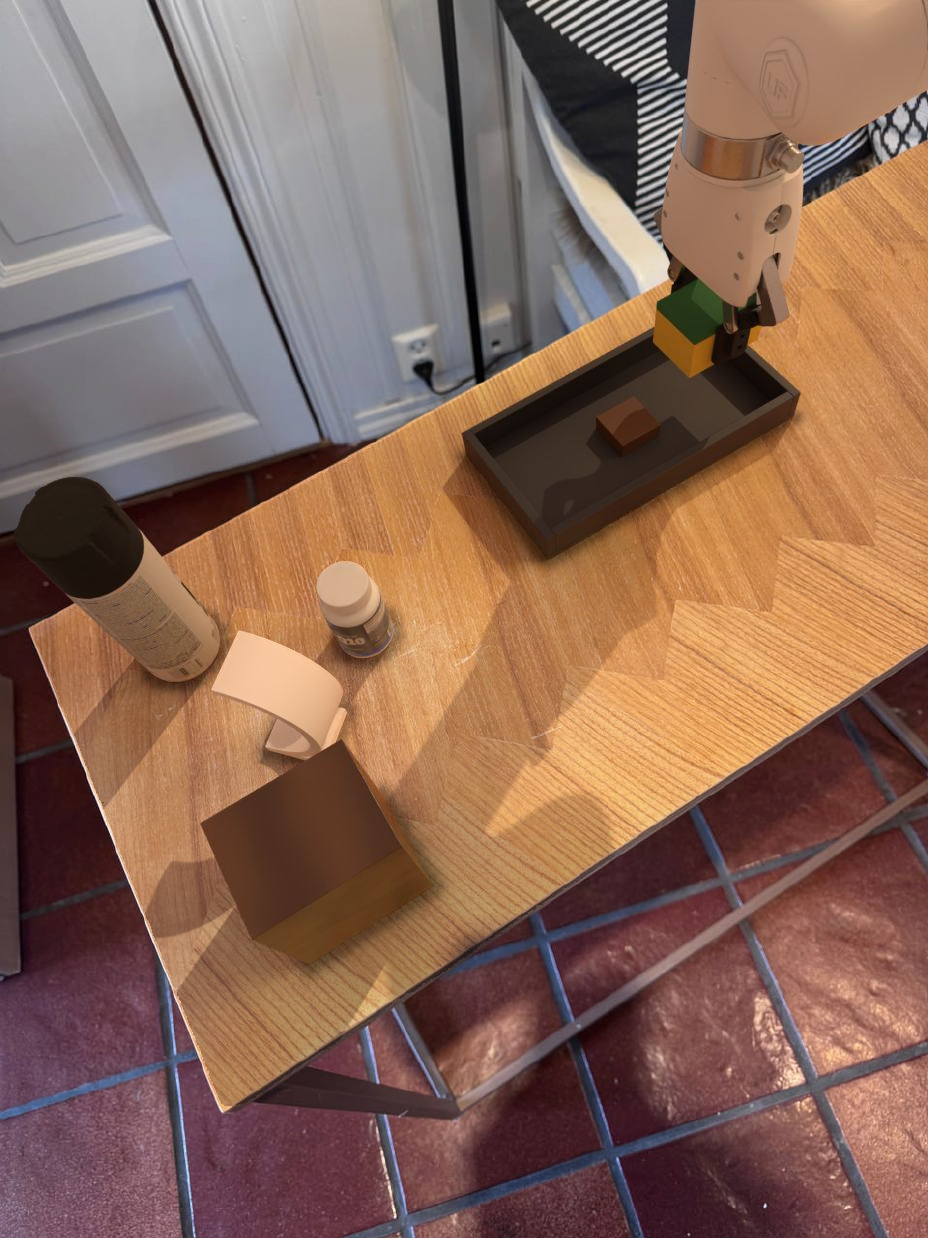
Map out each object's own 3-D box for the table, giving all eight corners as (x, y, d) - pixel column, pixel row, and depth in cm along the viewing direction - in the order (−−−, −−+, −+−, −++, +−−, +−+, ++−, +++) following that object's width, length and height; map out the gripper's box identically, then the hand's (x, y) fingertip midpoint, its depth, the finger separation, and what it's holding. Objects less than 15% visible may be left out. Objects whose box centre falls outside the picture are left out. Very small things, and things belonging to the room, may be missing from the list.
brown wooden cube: (381, 793, 66) (342, 738, 56) (433, 886, 63) (402, 846, 52) (262, 865, 65) (199, 823, 54) (309, 965, 61) (251, 940, 51)
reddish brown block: (632, 406, 79) (633, 395, 78) (659, 435, 78) (661, 424, 76) (595, 427, 79) (595, 416, 77) (622, 457, 77) (622, 446, 76)
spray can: (235, 621, 75) (127, 479, 57) (204, 693, 72) (80, 568, 54) (166, 607, 76) (40, 464, 59) (132, 677, 74) (-10, 550, 56)
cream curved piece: (290, 697, 71) (238, 629, 60) (359, 715, 69) (319, 649, 59) (267, 750, 69) (210, 690, 58) (338, 770, 67) (292, 711, 57)
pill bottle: (327, 645, 73) (297, 595, 65) (358, 599, 74) (333, 546, 67) (374, 669, 71) (350, 621, 64) (405, 622, 73) (385, 570, 65)
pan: (696, 326, 84) (700, 300, 81) (793, 416, 77) (801, 392, 75) (465, 454, 80) (461, 432, 77) (548, 560, 74) (546, 540, 71)
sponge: (719, 304, 76) (727, 262, 72) (758, 339, 74) (768, 297, 70) (652, 342, 75) (656, 301, 71) (689, 378, 73) (695, 338, 69)
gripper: (879, 171, 54) (811, 377, 70) (705, 47, 62) (679, 258, 78) (782, 225, 53) (735, 421, 69) (616, 91, 61) (609, 296, 77)
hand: (706, 333), depth 74 cm, fingers closed on sponge, 5 cm apart
